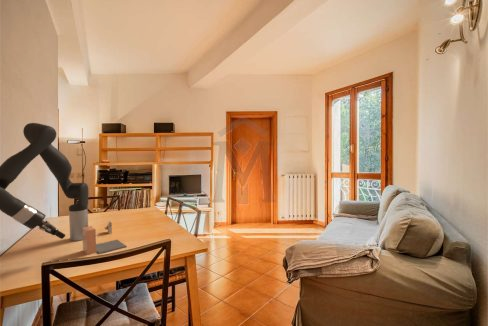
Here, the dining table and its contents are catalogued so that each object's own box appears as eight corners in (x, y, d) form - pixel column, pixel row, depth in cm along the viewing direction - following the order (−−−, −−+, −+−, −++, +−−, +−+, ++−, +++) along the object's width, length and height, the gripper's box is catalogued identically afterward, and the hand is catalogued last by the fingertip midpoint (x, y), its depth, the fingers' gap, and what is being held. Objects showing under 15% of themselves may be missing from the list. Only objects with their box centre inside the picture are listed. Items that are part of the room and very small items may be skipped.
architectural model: (105, 235, 153) (105, 223, 153) (104, 232, 158) (103, 221, 158) (112, 234, 155) (111, 222, 155) (110, 231, 160) (109, 220, 160)
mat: (91, 246, 132) (91, 245, 132) (117, 240, 142) (117, 239, 142) (99, 254, 122) (99, 253, 122) (126, 246, 131) (126, 246, 131)
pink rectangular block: (83, 250, 127) (82, 227, 126) (92, 248, 130) (91, 226, 129) (87, 254, 121) (86, 230, 121) (96, 252, 124) (95, 229, 124)
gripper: (38, 211, 106) (73, 233, 115) (35, 207, 115) (67, 227, 124) (21, 226, 102) (59, 247, 111) (20, 220, 112) (54, 240, 121)
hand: (63, 236), depth 118 cm, fingers closed
